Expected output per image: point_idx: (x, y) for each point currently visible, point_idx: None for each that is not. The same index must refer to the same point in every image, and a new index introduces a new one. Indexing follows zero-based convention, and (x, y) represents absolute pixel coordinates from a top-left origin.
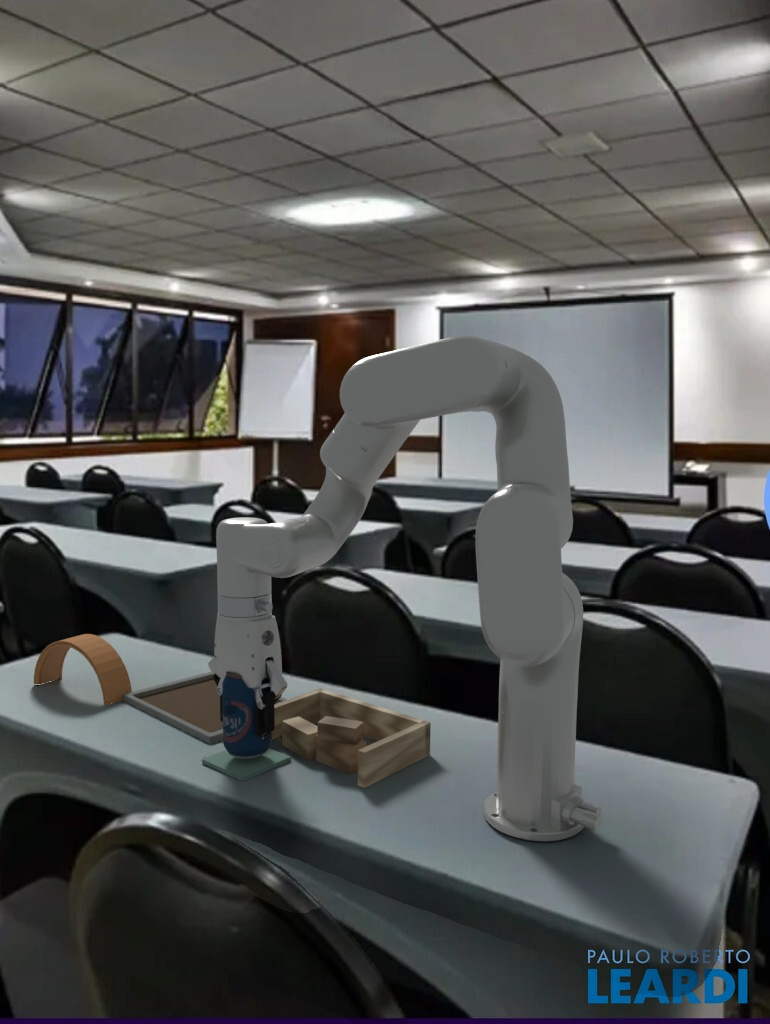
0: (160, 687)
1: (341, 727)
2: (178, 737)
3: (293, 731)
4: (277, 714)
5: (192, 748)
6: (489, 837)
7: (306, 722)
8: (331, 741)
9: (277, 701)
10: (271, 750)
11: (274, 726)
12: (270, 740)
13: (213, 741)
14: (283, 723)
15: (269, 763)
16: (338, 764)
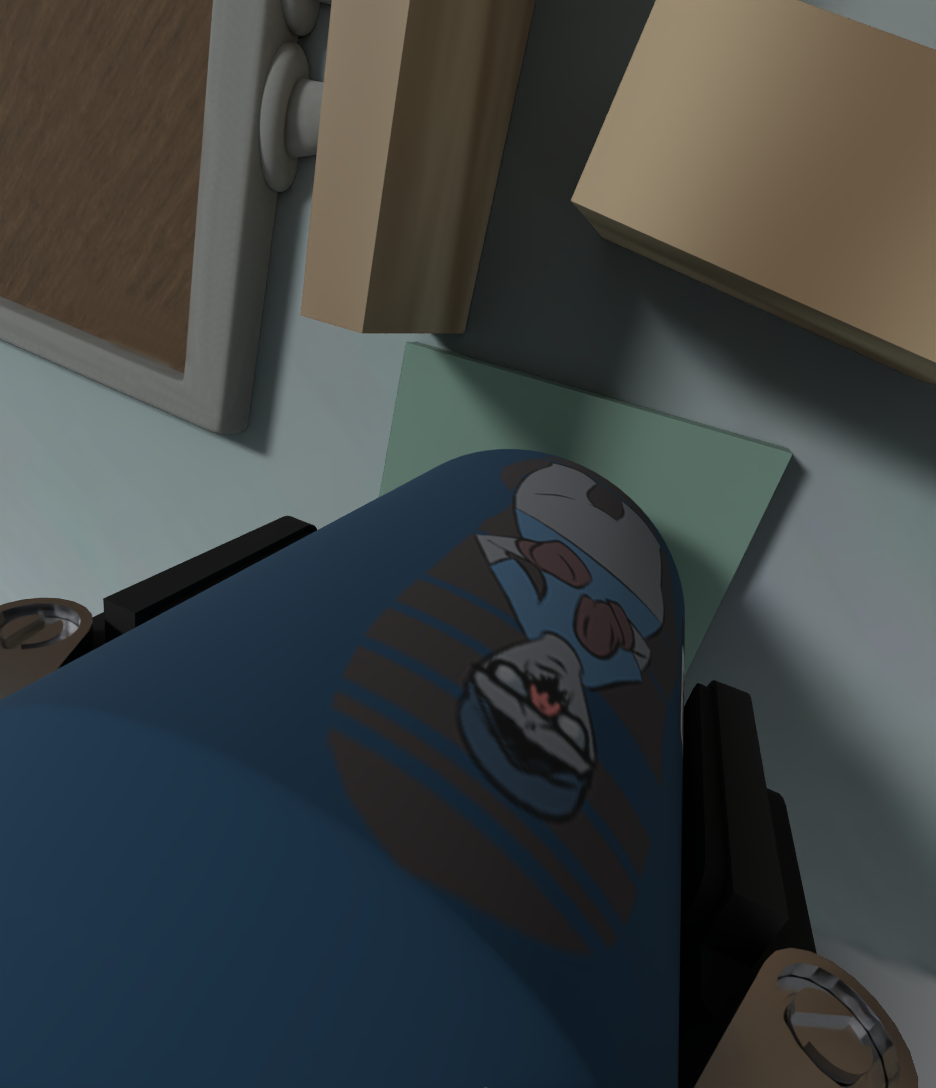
0: None
1: None
2: (101, 431)
3: (755, 289)
4: (438, 65)
5: (226, 511)
6: None
7: (860, 79)
8: None
9: (906, 1049)
10: (610, 416)
11: (751, 707)
12: (682, 602)
13: (244, 411)
14: (595, 213)
15: (697, 589)
16: None
